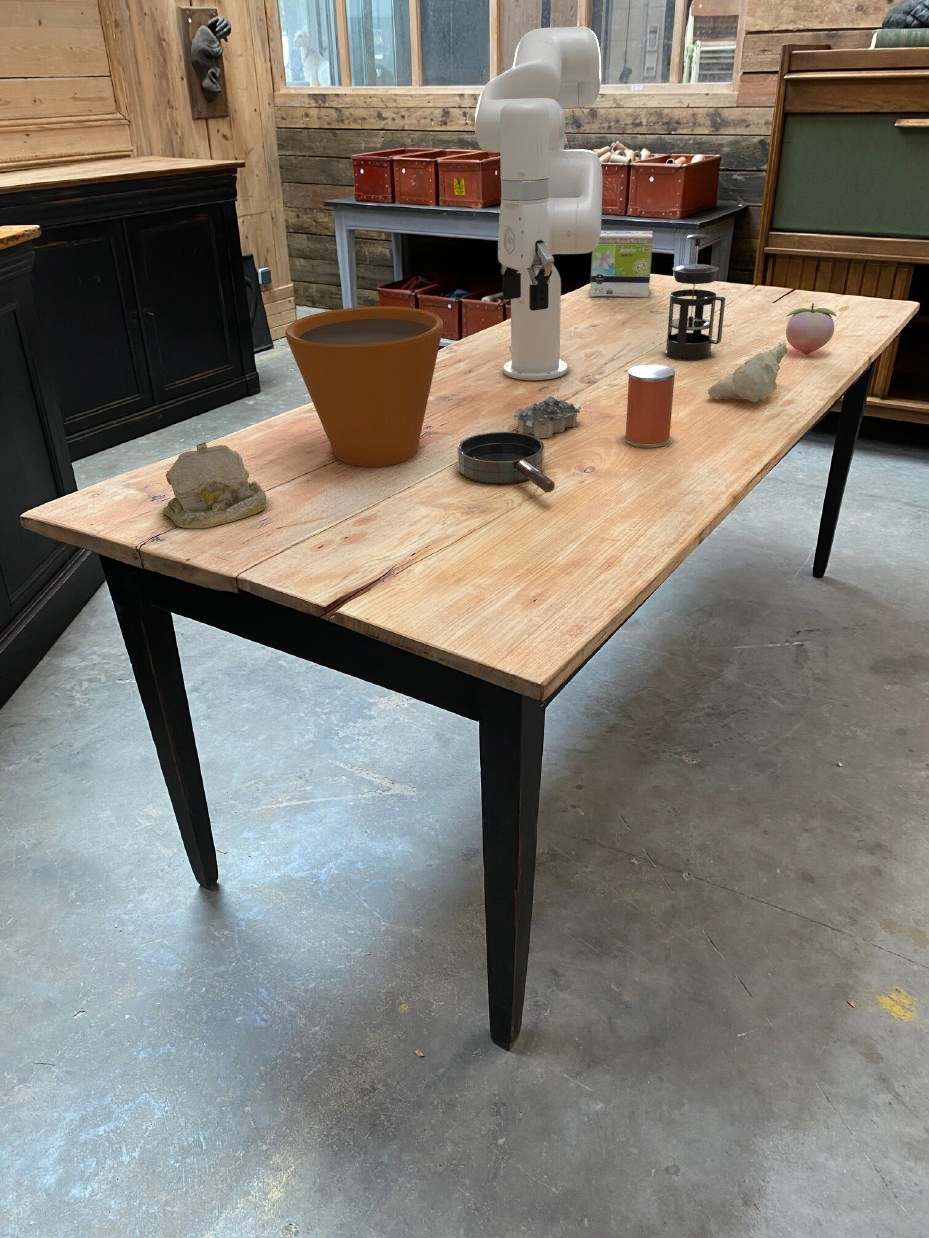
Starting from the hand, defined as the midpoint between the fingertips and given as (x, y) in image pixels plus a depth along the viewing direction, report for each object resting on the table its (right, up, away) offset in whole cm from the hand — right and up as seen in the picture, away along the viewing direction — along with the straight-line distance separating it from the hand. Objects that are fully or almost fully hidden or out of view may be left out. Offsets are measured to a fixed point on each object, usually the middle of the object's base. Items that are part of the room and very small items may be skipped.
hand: (525, 303), depth 156 cm
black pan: (-4, -30, -13) cm, 33 cm away
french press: (+36, +2, +37) cm, 52 cm away
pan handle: (0, -33, -23) cm, 40 cm away
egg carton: (+4, -20, +2) cm, 21 cm away
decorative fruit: (+59, +1, +34) cm, 68 cm away
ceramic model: (-46, -37, -22) cm, 63 cm away
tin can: (+19, -24, -5) cm, 31 cm away
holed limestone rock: (+42, -12, +13) cm, 45 cm away
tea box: (+30, +32, +88) cm, 98 cm away
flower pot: (-24, -25, -4) cm, 35 cm away
